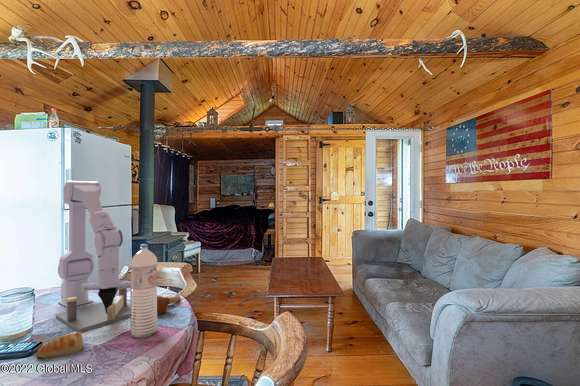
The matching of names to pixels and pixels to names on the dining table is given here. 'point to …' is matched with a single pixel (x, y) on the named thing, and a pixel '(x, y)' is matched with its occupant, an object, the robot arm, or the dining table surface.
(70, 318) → the gate frame
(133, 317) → the water bottle
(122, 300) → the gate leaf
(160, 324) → the dining table surface
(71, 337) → the pastry
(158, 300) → the smoking pipe
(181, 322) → the dining table surface
